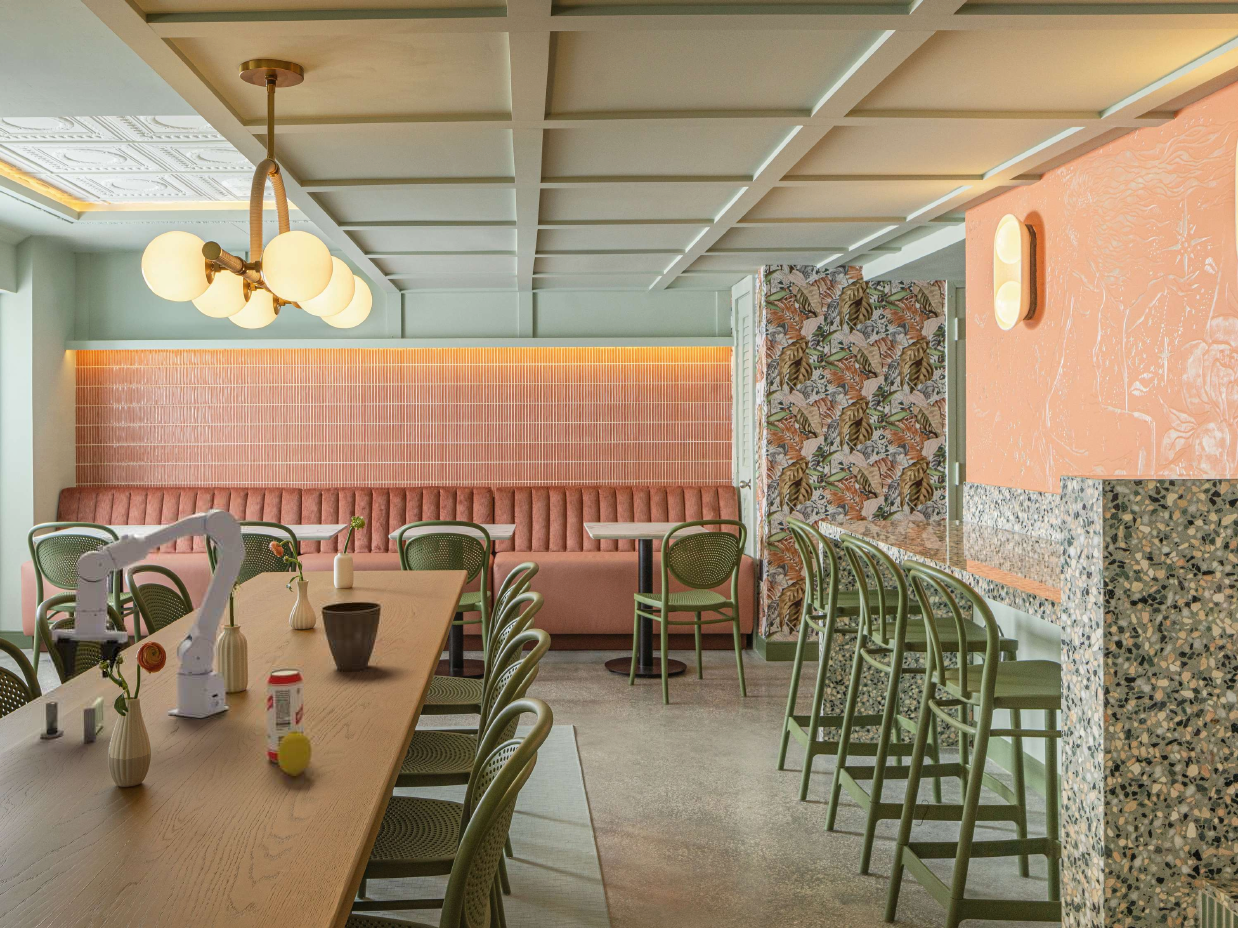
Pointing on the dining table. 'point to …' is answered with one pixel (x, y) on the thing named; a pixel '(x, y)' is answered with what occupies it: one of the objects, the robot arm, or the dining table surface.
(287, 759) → the lemon
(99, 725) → the gate
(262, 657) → the dining table surface
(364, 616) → the plant pot
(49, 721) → the post
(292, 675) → the beer can
